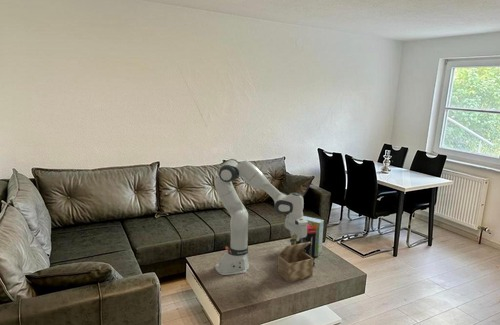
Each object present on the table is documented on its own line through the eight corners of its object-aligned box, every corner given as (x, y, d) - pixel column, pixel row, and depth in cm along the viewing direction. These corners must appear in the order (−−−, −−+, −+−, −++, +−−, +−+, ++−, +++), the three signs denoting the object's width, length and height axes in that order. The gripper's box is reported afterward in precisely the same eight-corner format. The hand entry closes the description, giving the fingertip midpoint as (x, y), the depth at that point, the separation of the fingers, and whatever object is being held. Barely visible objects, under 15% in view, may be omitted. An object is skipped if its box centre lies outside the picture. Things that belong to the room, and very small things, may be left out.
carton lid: (286, 247, 214) (284, 240, 216) (278, 254, 224) (276, 248, 226) (310, 242, 222) (308, 235, 224) (301, 250, 232) (299, 243, 234)
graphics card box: (314, 266, 235) (317, 228, 230) (305, 267, 233) (307, 229, 228) (303, 255, 251) (305, 219, 246) (294, 256, 249) (296, 220, 244)
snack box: (322, 253, 255) (324, 219, 250) (317, 257, 248) (320, 223, 243) (295, 245, 266) (296, 213, 261) (290, 250, 259) (291, 216, 254)
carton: (288, 282, 215) (289, 264, 212) (277, 272, 226) (278, 255, 224) (312, 276, 222) (313, 258, 220) (300, 267, 234) (301, 250, 232)
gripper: (282, 214, 227) (282, 234, 229) (300, 224, 209) (299, 246, 211) (291, 212, 230) (290, 232, 232) (309, 222, 212) (308, 244, 214)
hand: (294, 239), depth 222 cm, fingers open, 4 cm apart
